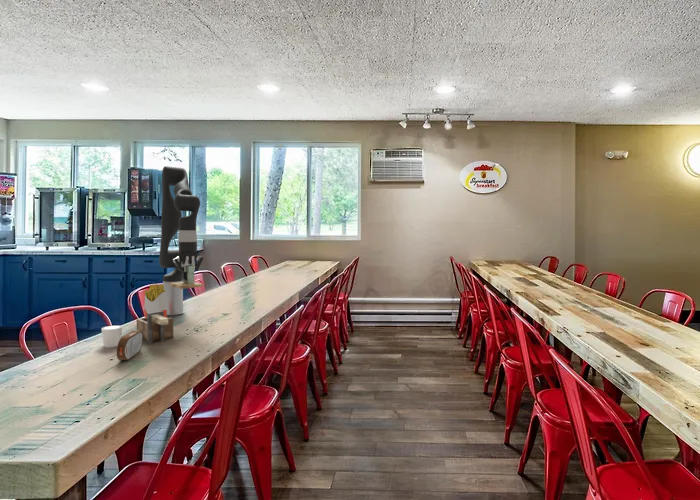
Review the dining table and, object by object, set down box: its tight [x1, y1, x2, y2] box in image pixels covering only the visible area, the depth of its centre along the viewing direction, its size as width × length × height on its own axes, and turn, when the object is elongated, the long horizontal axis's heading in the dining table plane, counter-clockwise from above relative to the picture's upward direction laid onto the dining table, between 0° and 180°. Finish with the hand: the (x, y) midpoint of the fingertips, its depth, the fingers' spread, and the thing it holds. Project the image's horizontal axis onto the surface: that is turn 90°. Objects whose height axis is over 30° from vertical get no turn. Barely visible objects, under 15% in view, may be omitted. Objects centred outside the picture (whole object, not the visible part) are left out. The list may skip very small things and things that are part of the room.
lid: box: [170, 264, 203, 290], centre depth 175 cm, size 12×9×9 cm
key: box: [152, 314, 169, 325], centre depth 155 cm, size 10×2×2 cm, turn 48°
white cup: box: [101, 324, 123, 348], centre depth 153 cm, size 7×7×7 cm
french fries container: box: [143, 283, 168, 318], centre depth 188 cm, size 5×11×18 cm, turn 60°
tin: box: [116, 330, 144, 361], centre depth 141 cm, size 15×3×8 cm, turn 5°
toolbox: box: [136, 311, 174, 345], centre depth 164 cm, size 16×10×12 cm, turn 48°
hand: (188, 279), depth 176 cm, fingers closed on lid
